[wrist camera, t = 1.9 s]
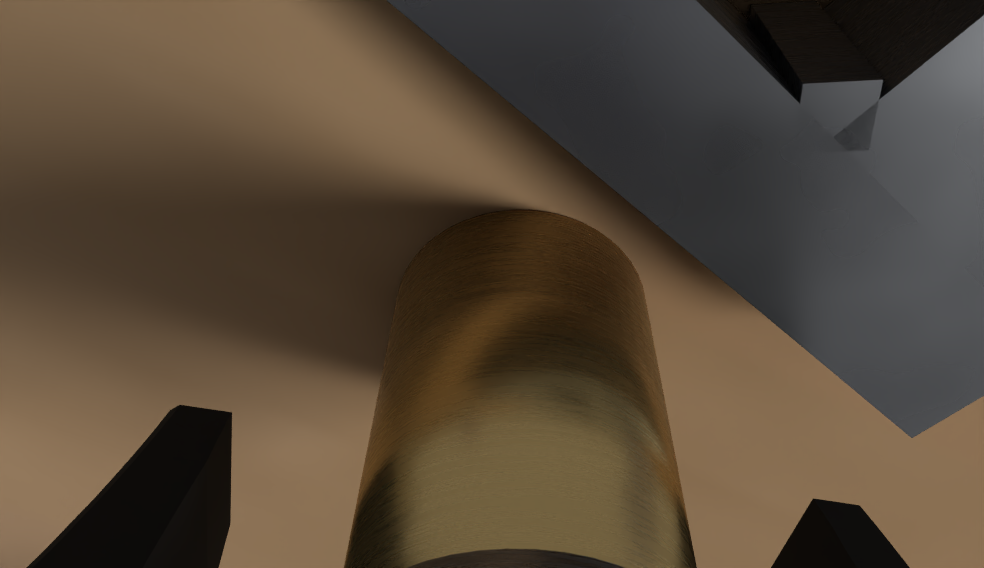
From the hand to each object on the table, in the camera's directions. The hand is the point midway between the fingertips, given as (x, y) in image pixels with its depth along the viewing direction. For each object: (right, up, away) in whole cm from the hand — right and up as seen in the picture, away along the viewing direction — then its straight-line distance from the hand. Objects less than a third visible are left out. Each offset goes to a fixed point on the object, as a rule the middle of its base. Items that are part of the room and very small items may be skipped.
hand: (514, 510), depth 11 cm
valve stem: (0, +2, +3) cm, 4 cm away
